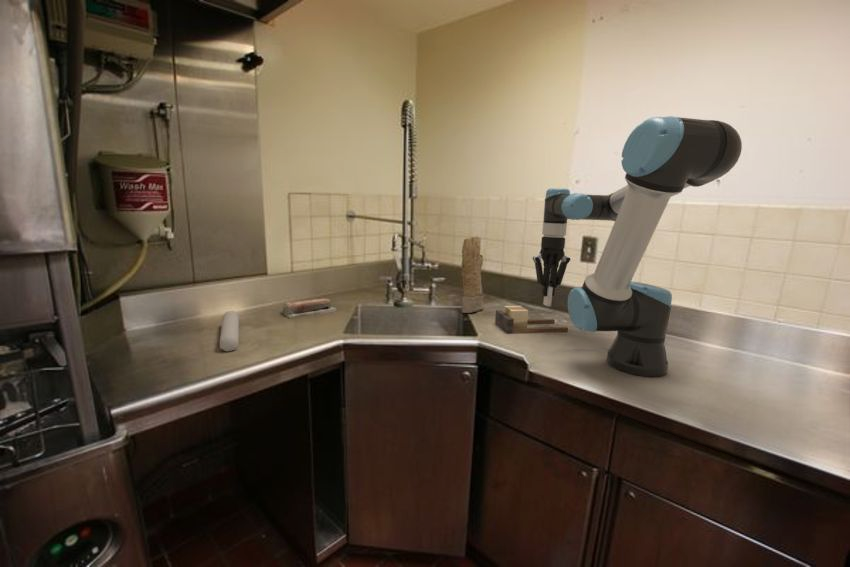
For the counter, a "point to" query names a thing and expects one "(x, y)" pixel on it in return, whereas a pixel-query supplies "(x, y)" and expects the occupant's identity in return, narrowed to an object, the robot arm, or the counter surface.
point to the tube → (229, 331)
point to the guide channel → (507, 323)
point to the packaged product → (307, 308)
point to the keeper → (517, 315)
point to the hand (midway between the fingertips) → (547, 305)
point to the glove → (472, 275)
